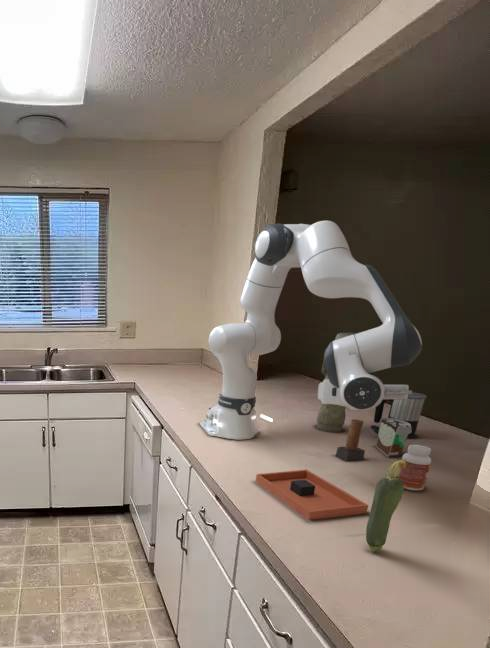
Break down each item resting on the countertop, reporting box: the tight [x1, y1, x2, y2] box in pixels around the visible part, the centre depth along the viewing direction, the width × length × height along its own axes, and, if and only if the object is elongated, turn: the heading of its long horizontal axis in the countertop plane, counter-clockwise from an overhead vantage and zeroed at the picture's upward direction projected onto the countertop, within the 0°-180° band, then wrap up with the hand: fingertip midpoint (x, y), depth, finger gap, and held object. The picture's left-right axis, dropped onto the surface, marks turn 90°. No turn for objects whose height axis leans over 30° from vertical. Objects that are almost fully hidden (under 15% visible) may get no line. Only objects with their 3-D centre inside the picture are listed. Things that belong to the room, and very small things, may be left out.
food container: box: [375, 416, 412, 458], centre depth 137 cm, size 12×6×10 cm, turn 168°
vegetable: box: [365, 459, 407, 553], centre depth 85 cm, size 4×4×20 cm
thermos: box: [315, 331, 357, 433], centre depth 156 cm, size 9×12×35 cm
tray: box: [255, 469, 370, 521], centre depth 109 cm, size 21×15×2 cm
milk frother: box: [370, 391, 428, 439], centre depth 152 cm, size 14×16×15 cm
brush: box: [335, 418, 366, 462], centre depth 133 cm, size 6×4×12 cm
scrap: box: [290, 480, 315, 496], centre depth 111 cm, size 4×4×2 cm
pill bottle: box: [397, 444, 432, 491], centre depth 113 cm, size 6×6×11 cm
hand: (360, 391), depth 119 cm, fingers open, 8 cm apart
